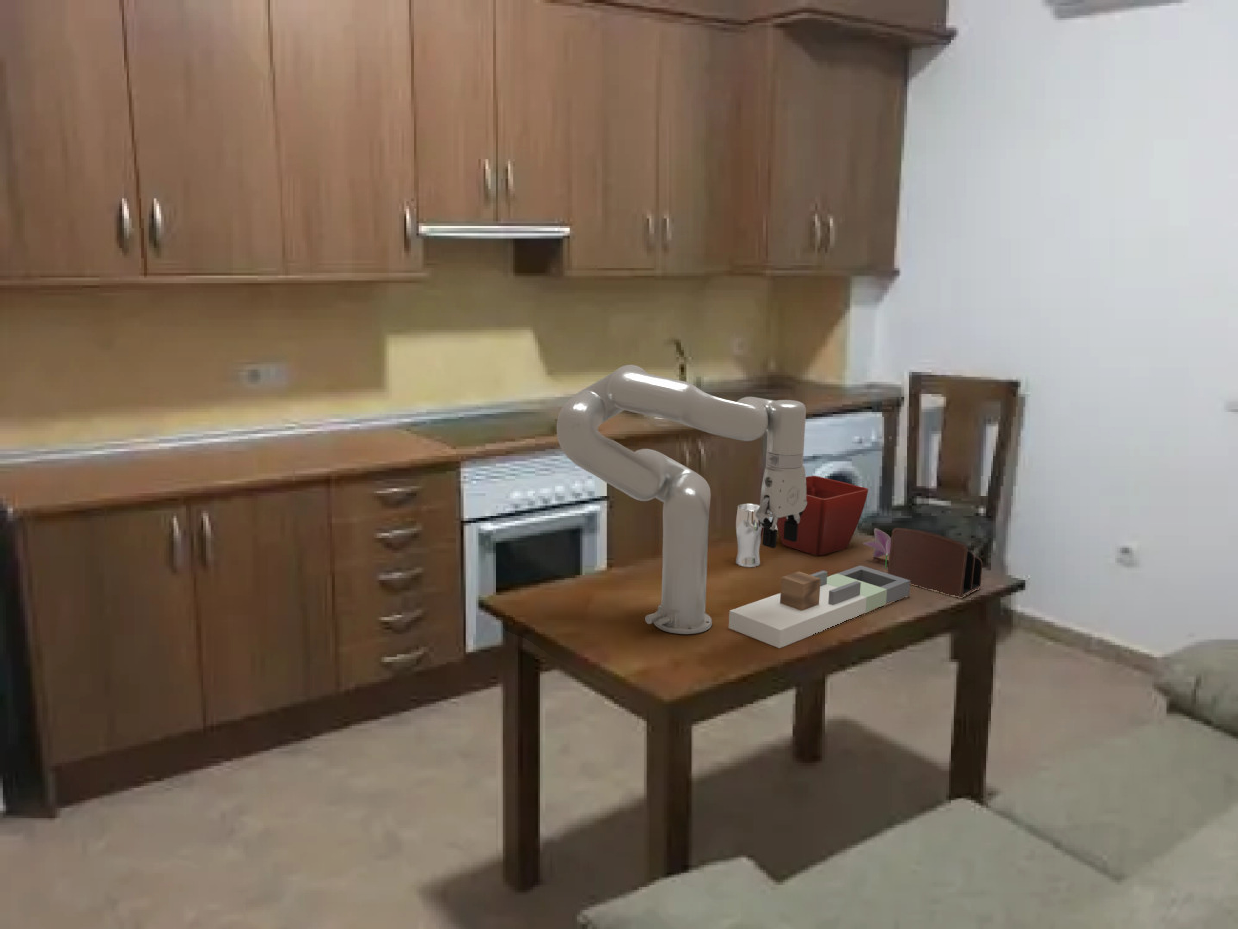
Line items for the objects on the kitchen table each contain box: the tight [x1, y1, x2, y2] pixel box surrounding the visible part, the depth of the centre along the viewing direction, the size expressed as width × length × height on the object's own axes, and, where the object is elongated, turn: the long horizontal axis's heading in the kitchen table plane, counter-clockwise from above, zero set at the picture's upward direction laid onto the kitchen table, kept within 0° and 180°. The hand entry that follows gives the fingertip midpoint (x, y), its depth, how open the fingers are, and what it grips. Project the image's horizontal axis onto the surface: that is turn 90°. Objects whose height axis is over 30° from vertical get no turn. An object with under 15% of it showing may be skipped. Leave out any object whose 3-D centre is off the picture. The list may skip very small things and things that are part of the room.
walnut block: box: [780, 571, 821, 611], centre depth 229 cm, size 6×6×6 cm
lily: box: [862, 527, 891, 569], centre depth 269 cm, size 12×12×10 cm
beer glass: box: [735, 503, 763, 568], centre depth 267 cm, size 7×7×15 cm
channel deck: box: [728, 565, 911, 649], centre depth 236 cm, size 48×14×7 cm, turn 132°
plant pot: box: [776, 475, 869, 556], centre depth 282 cm, size 19×19×17 cm
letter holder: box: [887, 527, 983, 597], centre depth 255 cm, size 10×20×14 cm, turn 46°
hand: (779, 542), depth 221 cm, fingers open, 6 cm apart
